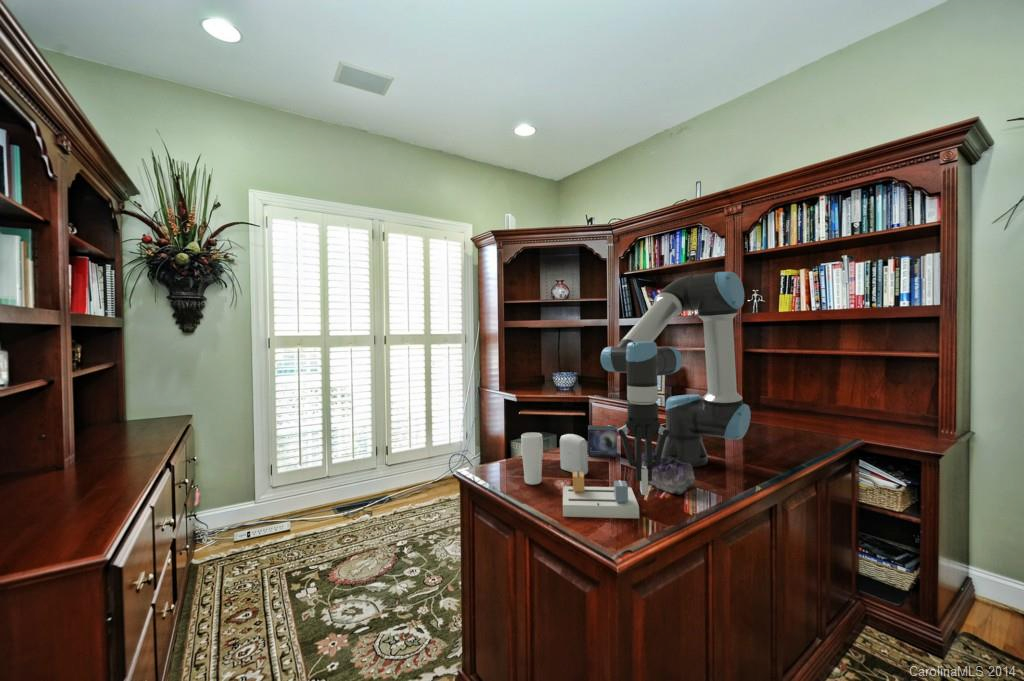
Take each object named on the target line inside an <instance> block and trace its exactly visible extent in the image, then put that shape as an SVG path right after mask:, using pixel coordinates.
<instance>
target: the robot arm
mask: <svg viewBox="0 0 1024 681" xmlns="http://www.w3.org/2000/svg"><path fill="white" fill-rule="evenodd" d="M744 303H745V290H744V286H743V282H742V280H741V279H740V277H739V275H738V274H736V273H735V272H733V271H717V272H710V273H709V272H708V273H702V274H701V273H699V274H693V275H685V276H683V277H680V278H677V279H675V280H673V281H672V282H671V283H669V284H668V285H666V286H665V287H664V288H663V289H662V290H661V291H660V292H659V293H658V294H657V295H655V297H654V299H653V304H651V306H650V307H649V308H648V309H647V311H646V312H645V313H644V314H643V315H642V316H641V317H640V319H639V320H638V321H637V322H636V323H635V324H634V326H632V328H631V329H630V330H629V331H628V332H627V334H626V335H625V336H624V337H623V338H622V339H621V340H620V342H619V343H617V345H615V346H614V345H611V346H607V347H603V349H602V351H601V352H600V353H601V354H600V364H601V366H602V368H603V369H604V370H605V371H607V372H611V373H612V372H613V373H623V374H624V373H625V374H626V398H627V401H628V402H627V403H626V404H627V406H626V410H627V411H626V412H627V420H625V425H623V426H622V427H617V428H616V429H617V433H618V435H619V436H620V438H621V439H622V445H623V447H624V451H625V456H626V459H627V462H628V464H629V466H630V467H633V468H635V478H636V480H637V482H639V491H640V493H641V495H642V496H649V483H648V481H651V480H652V469H653V467H658V466H659V465H660V460H661V458H663V457H666V458H671V459H672V460H675V461H680V462H681V463H689V464H690V465H691V466H692V467H693V468H694V467H695V468H697V467H703V466H705V465H707V464H708V459H709V458H708V454H707V450H706V447H705V445H704V442H703V438H702V437H703V436H702V435H705V436H708V437H709V436H710V437H715V438H716V437H717V438H721V439H725V440H741V439H743V438H744V436H745V435H746V434H747V431H748V429H749V427H750V422H751V414H752V412H751V409H750V406H749V405H748V404H746V403H744V401H743V396H742V395H741V394H739V392H738V389H737V373H736V372H737V370H736V356H735V355H736V354H735V339H734V338H735V336H734V318H735V317H736V316H737V315H738V312H739V311H738V309H740V308H742V307H743V305H744ZM687 311H697V316H698V318H700V320H702V322H703V335H704V336H703V337H704V352H705V354H704V355H705V368H706V369H705V370H706V372H705V373H706V382H707V383H706V387H707V393H705V394H704V395H703V397H702V395H701V394H696V393H695V394H694V393H693V394H682V395H673V396H672V395H671V396H669V397H668V398H667V399H666V401H665V422H666V423H665V427H664V426H662V425H661V422H660V420H659V404H658V403H657V402H658V400H659V396H658V395H659V391H658V377H660V376H666V375H667V376H670V375H672V374H675V373H677V372H678V371H679V370H680V369H681V368H682V366H683V361H684V360H683V355H682V354H681V352H680V351H679V350H678V349H677V348H675V347H673V346H661V347H659V346H658V345H657V343H656V342H655V340H656V339H657V337H658V336H659V335H660V334H661V333H662V331H663V330H664V329H665V328H666V327H667V325H668V324H669V323H670V321H671V320H673V318H677V317H678V316H680V314H681V313H683V312H687ZM657 346H658V347H657ZM628 431H629V432H630V434H632V436H633V437H634V457H633V453H632V450H631V446H630V443H629V440H628V439H629V438H628V436H627V435H628V434H629V432H628ZM657 431H658V437H657V441H656V445H655V449H654V451H655V453H654V457H653V461H652V449H653V448H652V446H653V444H652V443H653V437H654V436H655V435H656V433H657ZM642 439H644V450H645V462H646V466H642V456H641V453H642V441H643V440H642ZM634 459H635V460H634Z"/></svg>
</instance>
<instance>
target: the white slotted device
mask: <svg viewBox="0 0 1024 681" xmlns="http://www.w3.org/2000/svg"><path fill="white" fill-rule="evenodd" d="M559 454H560V455H559V458H560V463H559V464H560V469H561V470H563V471H565V472H566V471H567V472H570V473H573V472H577V471H579V472H584V476H585V475H587V474H588V472H589V460H588V458H589V455H588V454H589V453H588V441H587V440H586V439H585V438H584V437H582V436H580V435H578V434H574V433H566V434H563V435H561V436H560V439H559Z"/></svg>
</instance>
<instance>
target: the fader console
mask: <svg viewBox="0 0 1024 681" xmlns="http://www.w3.org/2000/svg"><path fill="white" fill-rule="evenodd" d="M634 493H635V492H634V491H633V489H632V487H631V486H630V487H629V486H628V502H616V500H615V497H614V486H584V492H583V491H573V485H572V486H571V485H570V486H569V485H568V486H565V485H564V486H562V517H567V518H568V517H569V518H570V517H572V518H606V519H608V518H609V519H640V506H639V503H638V501H637V498H636V496H635V494H634Z"/></svg>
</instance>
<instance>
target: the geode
mask: <svg viewBox="0 0 1024 681" xmlns="http://www.w3.org/2000/svg"><path fill="white" fill-rule="evenodd" d="M654 453H655V449H654V448H652V461H653V457H654ZM641 456H642V466H646V462H645V449H644V450H643V451H642V452H641ZM648 485H651V486H653V487H655V488H656V489H659V490H661V491H664V492H667V493H669V494H676V495H677V496H681V495H682V494H684V493H686V491H687V490H689V489H690V488H693V487H695V485H696V476H695V475H694V467H692V466H691V465H690V464H689V463H681V462H680V461H675V460H672V459H671V458H666V457H663V458H662V457H661V460H660V465H659V466H658V467H653V469H652V480H651V481H648Z"/></svg>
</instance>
